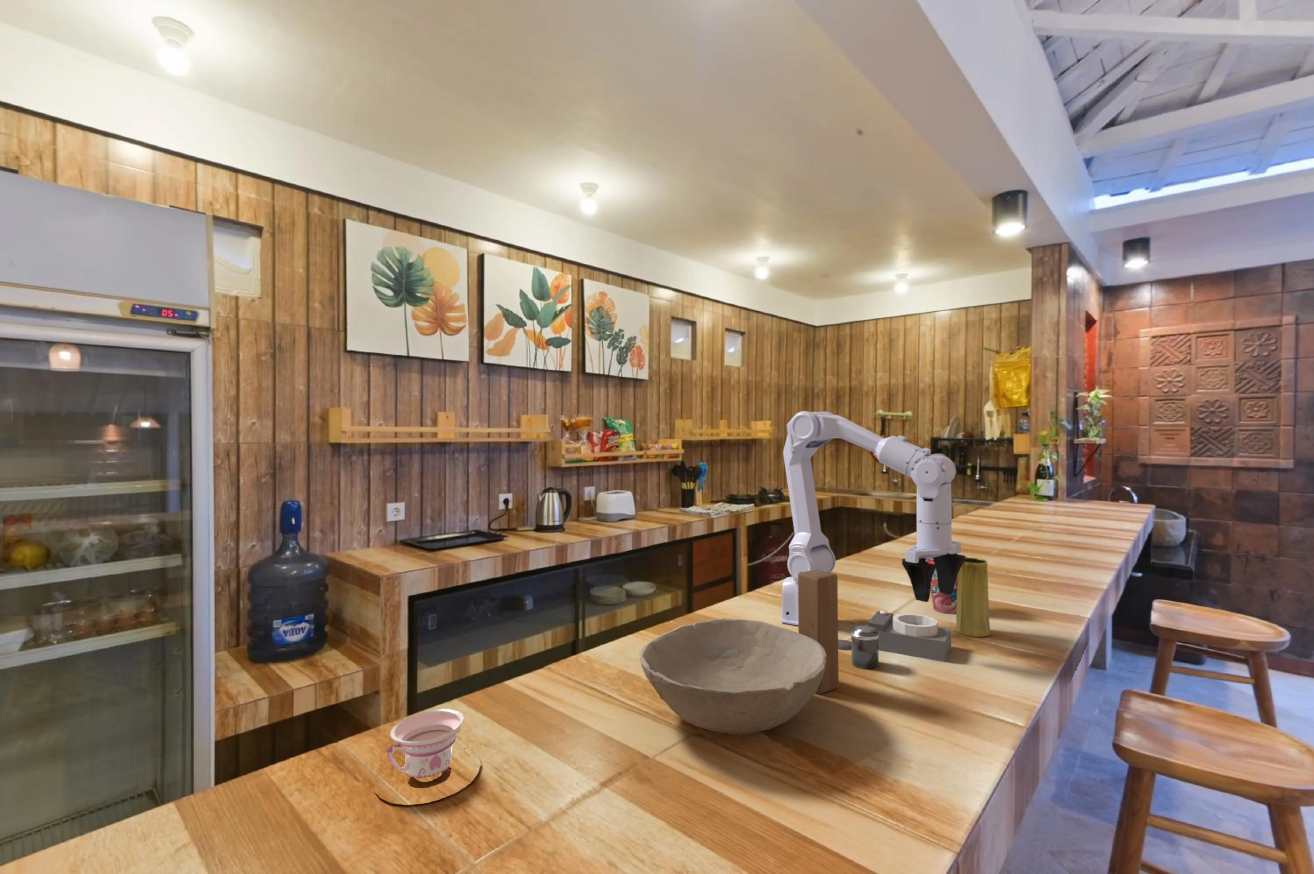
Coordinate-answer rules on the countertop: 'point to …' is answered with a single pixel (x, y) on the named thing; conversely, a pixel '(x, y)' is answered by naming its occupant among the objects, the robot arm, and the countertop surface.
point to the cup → (943, 595)
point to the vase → (973, 599)
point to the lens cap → (844, 645)
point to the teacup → (426, 741)
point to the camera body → (912, 635)
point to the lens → (865, 647)
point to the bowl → (734, 673)
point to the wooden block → (820, 619)
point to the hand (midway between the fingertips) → (934, 596)
